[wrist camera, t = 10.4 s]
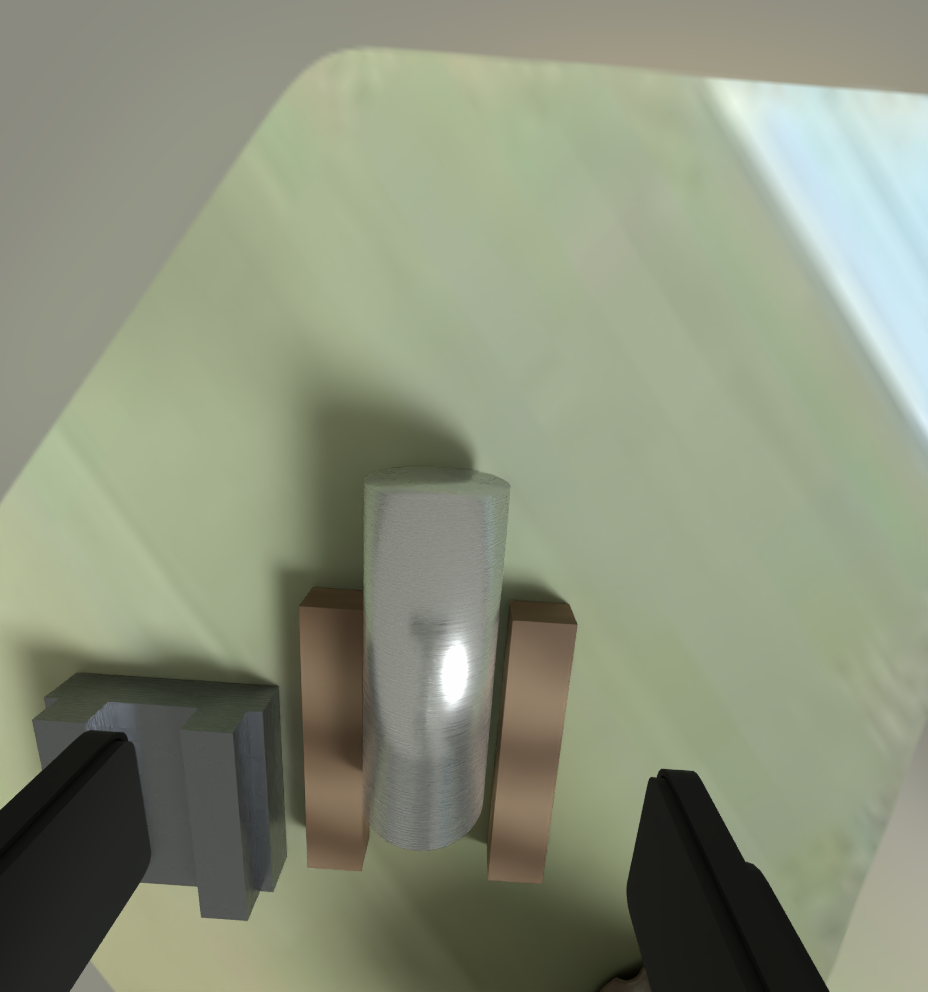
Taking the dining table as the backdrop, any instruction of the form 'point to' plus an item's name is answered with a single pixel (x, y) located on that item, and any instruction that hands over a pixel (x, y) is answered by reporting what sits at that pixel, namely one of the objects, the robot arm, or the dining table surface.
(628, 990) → the plant pot
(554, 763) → the wooden blocks
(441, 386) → the dining table surface
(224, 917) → the v block
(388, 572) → the axle
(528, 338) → the dining table surface
